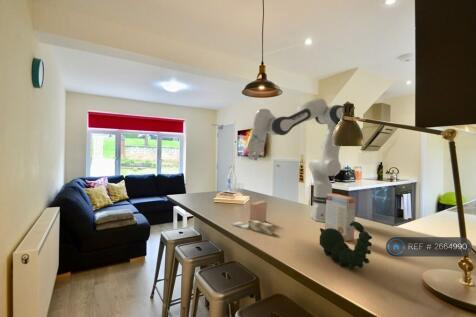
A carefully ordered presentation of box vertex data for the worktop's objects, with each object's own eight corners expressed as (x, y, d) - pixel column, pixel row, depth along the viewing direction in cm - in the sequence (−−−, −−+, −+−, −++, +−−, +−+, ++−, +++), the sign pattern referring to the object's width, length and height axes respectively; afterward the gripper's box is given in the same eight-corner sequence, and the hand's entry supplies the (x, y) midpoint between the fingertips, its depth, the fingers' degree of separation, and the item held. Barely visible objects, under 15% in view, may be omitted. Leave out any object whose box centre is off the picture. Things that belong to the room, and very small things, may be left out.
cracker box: (354, 240, 118) (356, 198, 117) (344, 242, 115) (347, 198, 115) (333, 231, 131) (335, 192, 130) (324, 232, 128) (326, 193, 128)
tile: (265, 221, 145) (266, 201, 145) (255, 225, 136) (255, 204, 135) (260, 219, 148) (261, 200, 147) (249, 224, 138) (249, 203, 138)
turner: (275, 232, 126) (275, 224, 126) (269, 235, 121) (270, 227, 121) (238, 223, 140) (239, 215, 140) (232, 225, 135) (232, 217, 135)
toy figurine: (373, 278, 86) (326, 245, 109) (380, 227, 84) (331, 204, 107) (352, 282, 83) (309, 247, 106) (359, 229, 80) (313, 205, 104)
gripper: (258, 134, 129) (253, 160, 129) (267, 139, 148) (262, 161, 149) (247, 132, 131) (242, 157, 132) (257, 137, 151) (252, 159, 151)
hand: (253, 159), depth 140 cm, fingers open, 8 cm apart
